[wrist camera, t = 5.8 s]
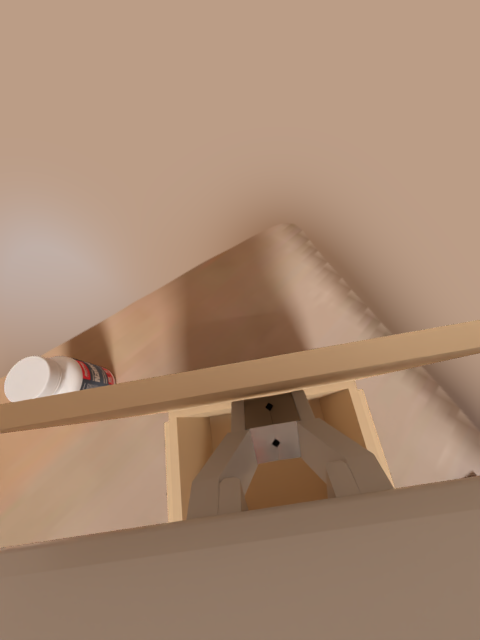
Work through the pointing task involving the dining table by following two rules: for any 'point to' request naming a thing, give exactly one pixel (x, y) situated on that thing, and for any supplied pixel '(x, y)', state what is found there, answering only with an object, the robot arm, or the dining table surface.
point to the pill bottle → (53, 377)
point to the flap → (245, 379)
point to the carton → (272, 477)
